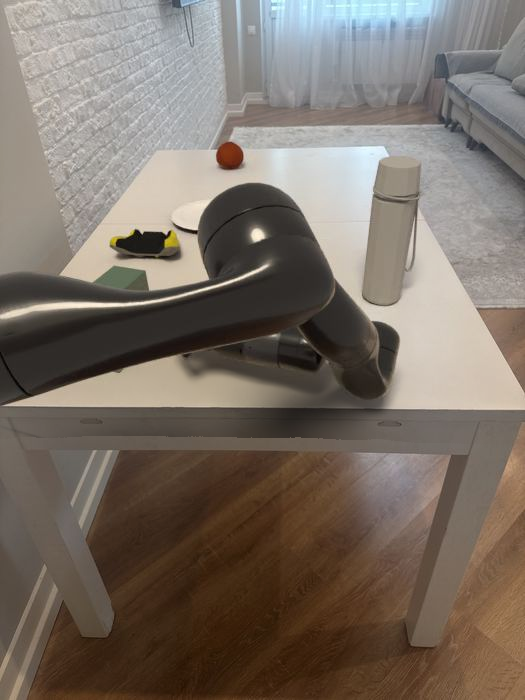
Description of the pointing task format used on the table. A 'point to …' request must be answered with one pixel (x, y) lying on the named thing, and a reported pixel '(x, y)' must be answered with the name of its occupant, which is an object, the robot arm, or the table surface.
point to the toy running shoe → (146, 243)
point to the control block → (124, 280)
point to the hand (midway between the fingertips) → (151, 317)
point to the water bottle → (391, 228)
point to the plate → (189, 214)
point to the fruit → (229, 155)
